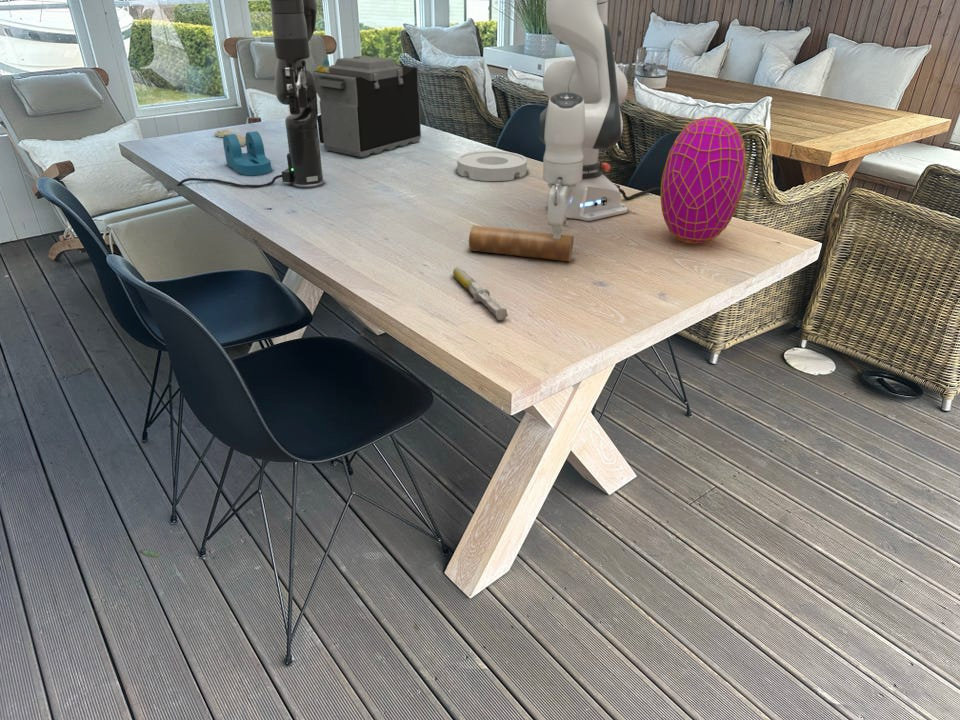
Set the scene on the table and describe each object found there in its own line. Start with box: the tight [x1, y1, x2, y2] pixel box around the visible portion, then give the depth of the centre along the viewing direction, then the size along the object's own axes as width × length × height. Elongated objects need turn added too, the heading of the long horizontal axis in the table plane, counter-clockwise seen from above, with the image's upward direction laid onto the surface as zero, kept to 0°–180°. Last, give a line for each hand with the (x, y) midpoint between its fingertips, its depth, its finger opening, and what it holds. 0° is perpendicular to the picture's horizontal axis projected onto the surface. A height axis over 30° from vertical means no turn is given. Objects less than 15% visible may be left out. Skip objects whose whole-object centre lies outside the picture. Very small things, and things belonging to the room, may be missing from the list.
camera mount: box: [222, 131, 272, 176], centre depth 226 cm, size 18×10×10 cm, turn 35°
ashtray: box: [456, 150, 528, 182], centre depth 228 cm, size 23×23×4 cm
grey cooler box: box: [310, 55, 422, 159], centre depth 250 cm, size 37×22×30 cm, turn 144°
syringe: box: [452, 266, 509, 321], centre depth 145 cm, size 25×4×3 cm, turn 21°
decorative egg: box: [659, 116, 747, 244], centre depth 167 cm, size 19×19×30 cm
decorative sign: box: [214, 129, 246, 147], centre depth 266 cm, size 26×1×10 cm
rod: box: [468, 225, 574, 262], centre depth 164 cm, size 24×6×6 cm, turn 75°
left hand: (299, 110), depth 163 cm, fingers open, 8 cm apart
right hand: (559, 230), depth 161 cm, fingers open, 8 cm apart
